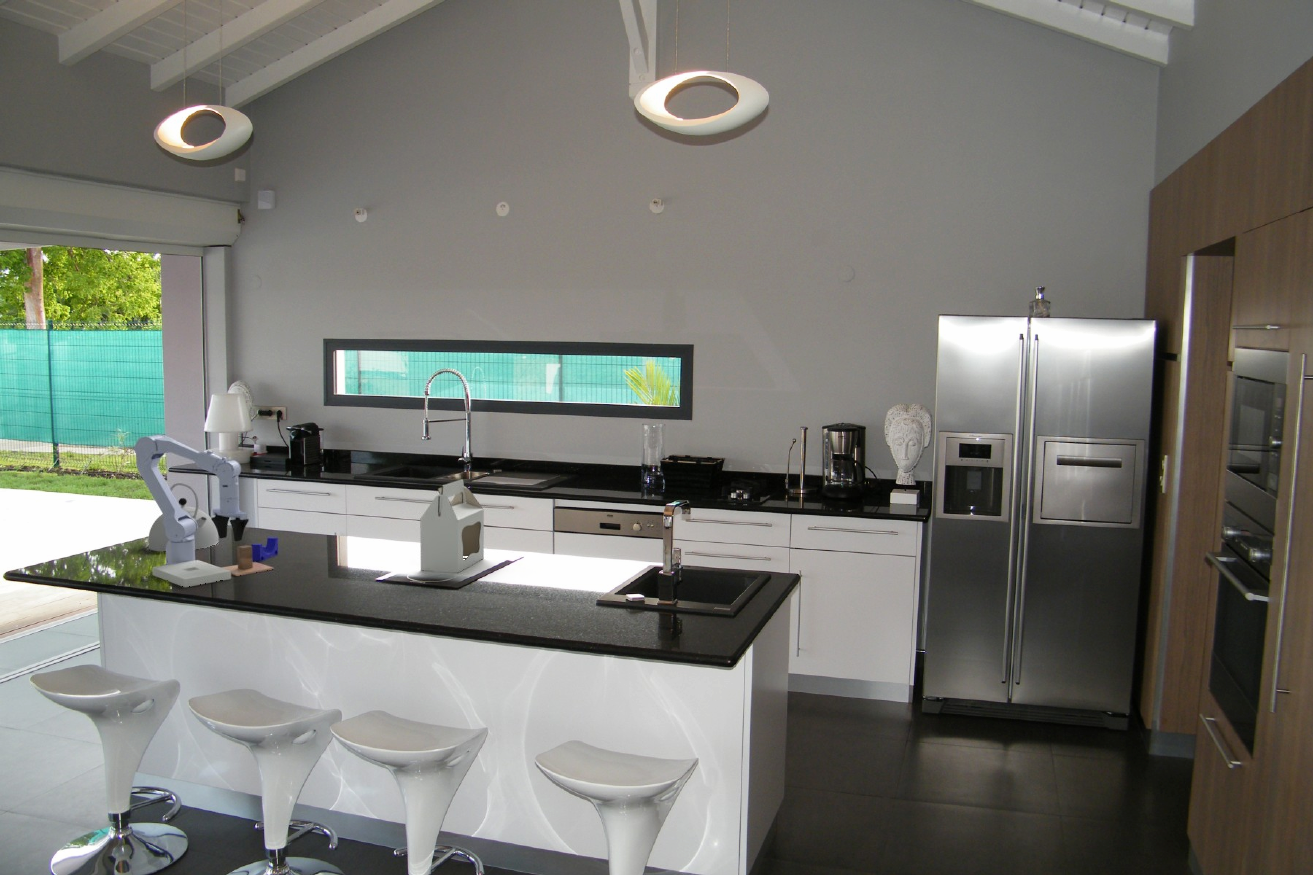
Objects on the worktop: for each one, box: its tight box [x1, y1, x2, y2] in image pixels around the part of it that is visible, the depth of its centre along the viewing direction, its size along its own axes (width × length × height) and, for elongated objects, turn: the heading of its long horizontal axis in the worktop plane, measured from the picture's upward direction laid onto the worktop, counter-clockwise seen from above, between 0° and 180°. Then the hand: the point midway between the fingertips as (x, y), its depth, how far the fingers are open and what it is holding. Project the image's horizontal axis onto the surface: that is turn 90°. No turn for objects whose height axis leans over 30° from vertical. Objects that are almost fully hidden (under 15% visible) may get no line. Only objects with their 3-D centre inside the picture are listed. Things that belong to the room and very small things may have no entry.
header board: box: [152, 559, 232, 588], centre depth 290 cm, size 22×14×2 cm, turn 51°
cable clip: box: [250, 536, 279, 562], centre depth 317 cm, size 12×4×6 cm, turn 175°
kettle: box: [147, 482, 220, 552], centre depth 333 cm, size 25×23×22 cm
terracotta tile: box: [221, 562, 275, 577], centre depth 300 cm, size 12×12×1 cm
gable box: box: [419, 478, 485, 573], centre depth 311 cm, size 22×13×28 cm, turn 168°
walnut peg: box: [236, 544, 253, 570], centre depth 299 cm, size 3×3×7 cm
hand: (230, 539), depth 301 cm, fingers open, 7 cm apart
